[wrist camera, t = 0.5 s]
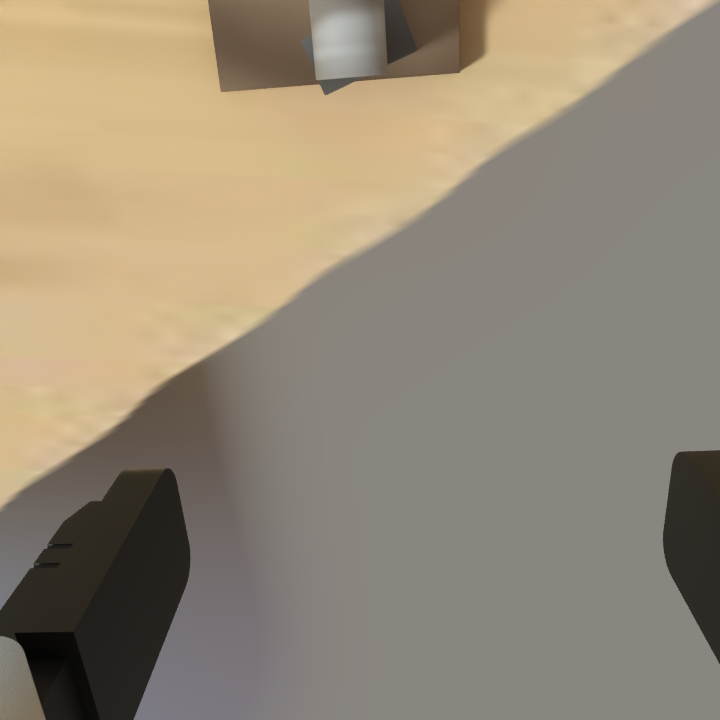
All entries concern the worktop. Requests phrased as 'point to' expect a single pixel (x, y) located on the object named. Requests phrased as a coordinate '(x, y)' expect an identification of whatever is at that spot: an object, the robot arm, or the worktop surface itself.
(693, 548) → the robot arm
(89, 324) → the worktop surface
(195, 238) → the worktop surface
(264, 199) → the worktop surface
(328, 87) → the rig
